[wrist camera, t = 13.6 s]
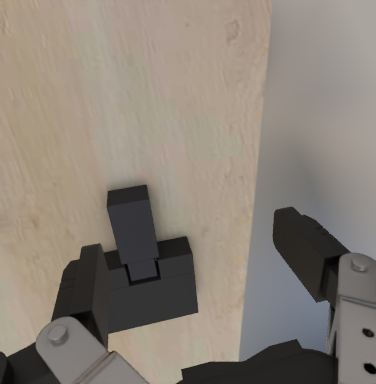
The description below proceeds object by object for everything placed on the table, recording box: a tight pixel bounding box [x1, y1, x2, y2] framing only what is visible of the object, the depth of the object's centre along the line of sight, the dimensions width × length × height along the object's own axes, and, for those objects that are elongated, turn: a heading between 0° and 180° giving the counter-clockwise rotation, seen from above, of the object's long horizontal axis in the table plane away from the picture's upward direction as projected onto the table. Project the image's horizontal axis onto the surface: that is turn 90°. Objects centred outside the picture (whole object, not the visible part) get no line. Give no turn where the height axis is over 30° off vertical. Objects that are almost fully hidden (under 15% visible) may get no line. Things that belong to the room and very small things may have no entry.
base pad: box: [104, 237, 198, 334], centre depth 43 cm, size 14×12×4 cm
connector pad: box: [107, 185, 159, 281], centre depth 39 cm, size 5×12×4 cm, turn 5°
